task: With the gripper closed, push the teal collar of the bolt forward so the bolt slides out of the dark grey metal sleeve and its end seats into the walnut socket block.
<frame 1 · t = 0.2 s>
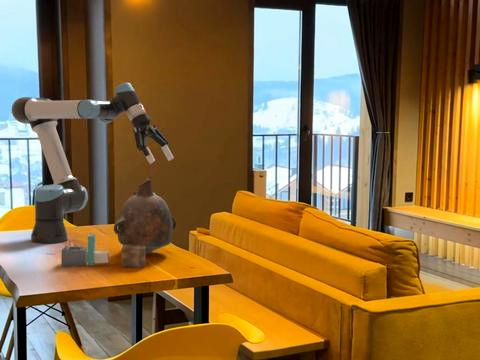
hand: (162, 160, 264), 36 cm above the table, tool tilted 35°, fingers open, 13 cm apart
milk: (148, 245, 270), on the table
sleeve: (74, 265, 229), on the table
socket: (133, 265, 231), on the table
jug: (144, 254, 250), on the table
bolt: (86, 249, 229), point 6 cm above the table, slide at 0.0 cm
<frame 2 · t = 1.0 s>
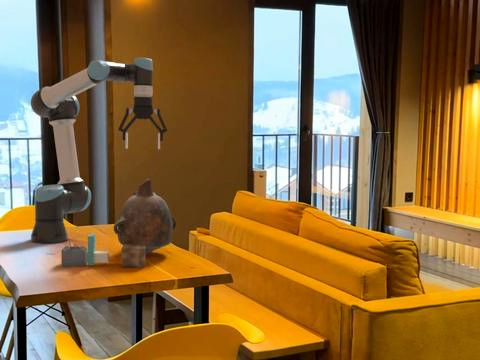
hand: (142, 148, 263), 41 cm above the table, tool pointing down, fingers open, 12 cm apart
nothing on the table moved.
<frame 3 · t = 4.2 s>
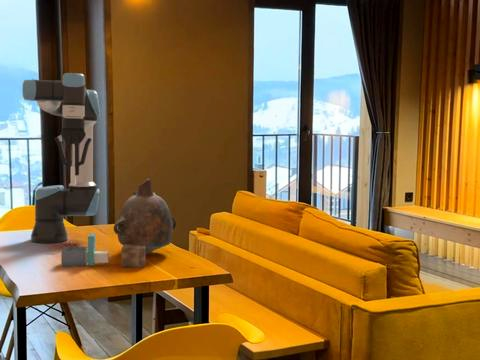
hand: (73, 184, 226), 29 cm above the table, tool pointing down, fingers closed
nothing on the table moved.
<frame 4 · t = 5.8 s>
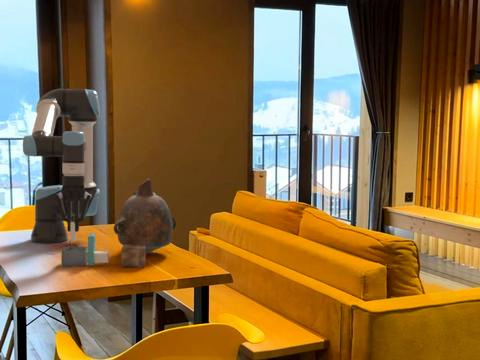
hand: (73, 240, 228), 9 cm above the table, tool pointing down, fingers closed
nothing on the table moved.
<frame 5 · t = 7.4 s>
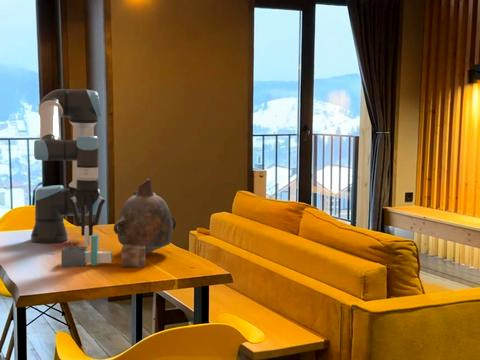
hand: (87, 244, 229), 8 cm above the table, tool pointing down, fingers closed
bolt: (89, 249, 229), point 6 cm above the table, slide at 1.1 cm, touching gripper
everything else where it was.
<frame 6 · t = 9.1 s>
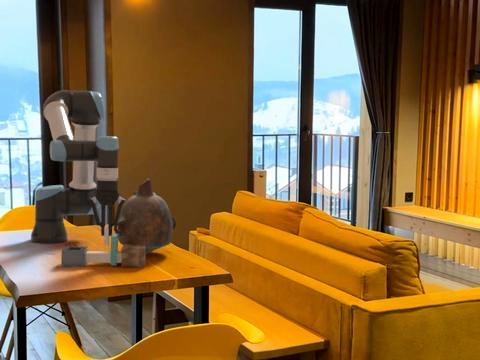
hand: (106, 244, 230), 8 cm above the table, tool pointing down, fingers closed
bolt: (108, 249, 230), point 6 cm above the table, slide at 8.0 cm, touching gripper
everything else where it was.
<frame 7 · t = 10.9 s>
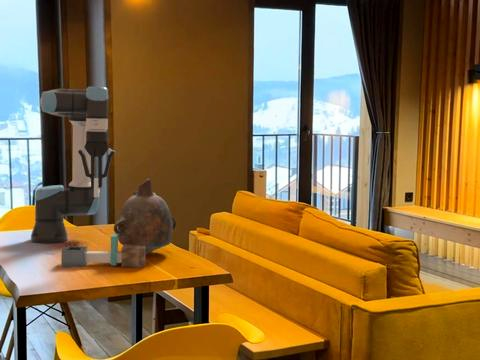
hand: (96, 196, 228), 25 cm above the table, tool pointing down, fingers closed
bolt: (108, 249, 230), point 6 cm above the table, slide at 8.0 cm
everything else where it was.
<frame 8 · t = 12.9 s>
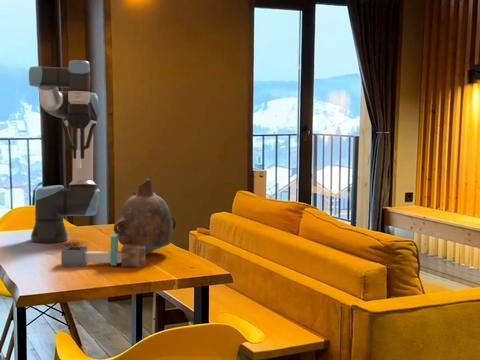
hand: (78, 167, 235), 34 cm above the table, tool pointing down, fingers closed
nothing on the table moved.
at the end: bolt slide at 8.0 cm; bolt moved 8.0 cm from its start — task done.
